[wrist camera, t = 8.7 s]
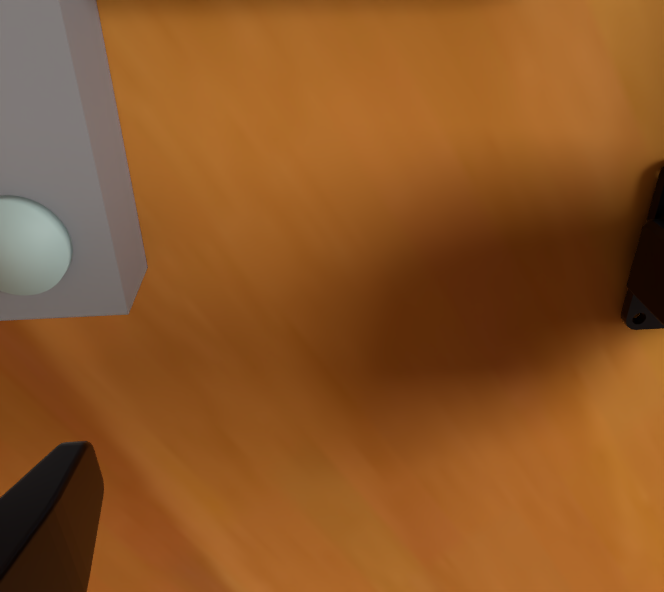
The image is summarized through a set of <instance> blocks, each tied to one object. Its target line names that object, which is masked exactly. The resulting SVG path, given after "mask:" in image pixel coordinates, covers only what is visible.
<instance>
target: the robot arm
mask: <svg viewBox="0 0 664 592" xmlns="http://www.w3.org/2000/svg"><path fill="white" fill-rule="evenodd" d="M627 288H628V290H627V294H626V297H625V301H624V305H623V308H622V312H621V319H622V321H623V322H624V323H625V324H626V326H627V327H629V328H630V329H634V330H641V329H660V328H664V167H663V168H662V169H661V171H660V174H659V177H658V181H657V184H656V188H655V192H654V195H653V199H652V203H651V206H650V210H649V214H648V217H647V221H646V223H645V224H644V225H643V227H642V231H641V234H640V238H639V242H638V245H637V249H636V253H635V256H634V260H633V264H632V267H631V271H630V275H629V279H628V282H627ZM638 313H640V314H639V316H637V317H636V318H633V317H634V316H635V315H636V314H638ZM103 494H104V483H103V478H102V474H101V471H100V467H99V464H98V461H97V457H96V454H95V451H94V448H93V446H92V444H91V443H90V442H87V441H78V442H65V443H61V444H60V445H58V446H57V447H56V448H55V449H53V450H52V451H51V452H50V453H49V454H48V455H47V456H46V457H45V458H44V459H42V460H41V461H40V462H39V463H38V464H37V465H36V466H35V467H34V468H32V469H31V470H30V471H29V472H28V473H27V474H26V475H25V476H24V477H23V478H21V479H20V480H19V481H18V482H17V483H16V484H15V485H14V486H13V487H12V488H10V489H9V490H8V491H7V492H6V493H5V494H4V495H3V496H2V497H1V498H0V592H87V587H88V582H89V576H90V571H91V565H92V559H93V553H94V547H95V541H96V536H97V530H98V524H99V518H100V512H101V507H102V501H103Z"/></svg>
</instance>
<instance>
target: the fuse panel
mask: <svg viewBox="0 0 664 592" xmlns="http://www.w3.org/2000/svg"><path fill="white" fill-rule="evenodd" d="M147 268H148V267H147V262H146V257H145V251H144V246H143V241H142V236H141V231H140V225H139V220H138V215H137V210H136V205H135V200H134V194H133V189H132V184H131V179H130V174H129V168H128V163H127V158H126V153H125V148H124V143H123V137H122V132H121V127H120V122H119V117H118V112H117V106H116V101H115V96H114V91H113V86H112V80H111V75H110V70H109V65H108V60H107V55H106V49H105V44H104V39H103V34H102V29H101V23H100V18H99V13H98V8H97V3H96V0H0V321H3V320H23V319H44V318H65V317H86V316H106V315H127V314H129V312H130V309H131V307H132V304H133V302H134V300H135V297H136V295H137V292H138V290H139V287H140V285H141V282H142V280H143V277H144V275H145V273H146V270H147Z"/></svg>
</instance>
